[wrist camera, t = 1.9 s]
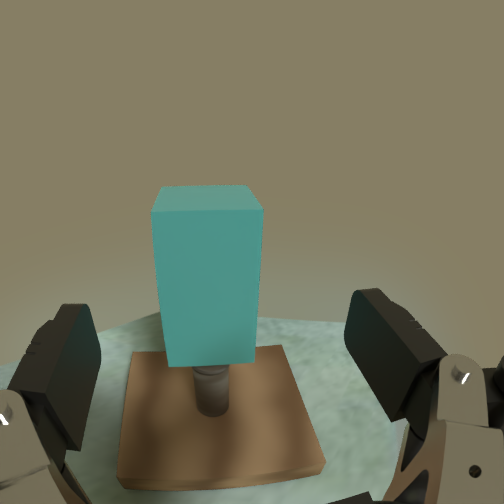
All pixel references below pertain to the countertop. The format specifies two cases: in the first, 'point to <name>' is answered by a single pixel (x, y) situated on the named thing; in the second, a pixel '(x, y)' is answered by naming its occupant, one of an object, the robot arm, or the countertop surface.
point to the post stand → (214, 425)
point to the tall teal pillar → (208, 272)
